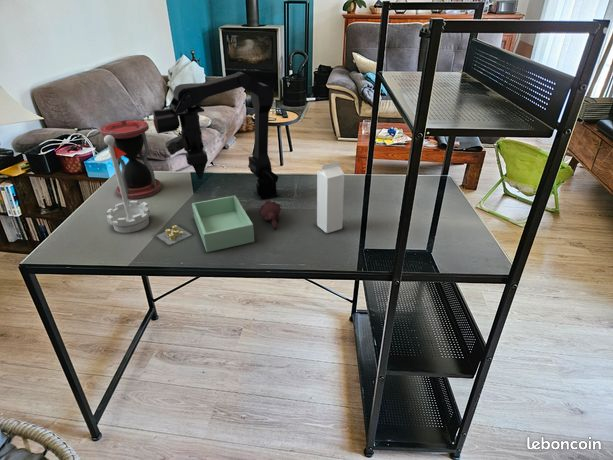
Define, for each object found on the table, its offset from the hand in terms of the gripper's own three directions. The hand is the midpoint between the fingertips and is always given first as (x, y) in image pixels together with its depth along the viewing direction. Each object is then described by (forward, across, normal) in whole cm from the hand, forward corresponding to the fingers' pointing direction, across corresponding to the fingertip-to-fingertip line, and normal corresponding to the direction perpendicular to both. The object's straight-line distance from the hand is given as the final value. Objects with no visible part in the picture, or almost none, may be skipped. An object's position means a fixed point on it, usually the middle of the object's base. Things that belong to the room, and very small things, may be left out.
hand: (198, 173), depth 135 cm
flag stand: (+14, +2, -24) cm, 28 cm away
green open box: (+14, +16, +4) cm, 21 cm away
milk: (+14, +25, +37) cm, 47 cm away
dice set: (+14, +14, -11) cm, 22 cm away
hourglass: (+14, -26, -22) cm, 37 cm away
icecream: (+14, +14, +20) cm, 28 cm away
